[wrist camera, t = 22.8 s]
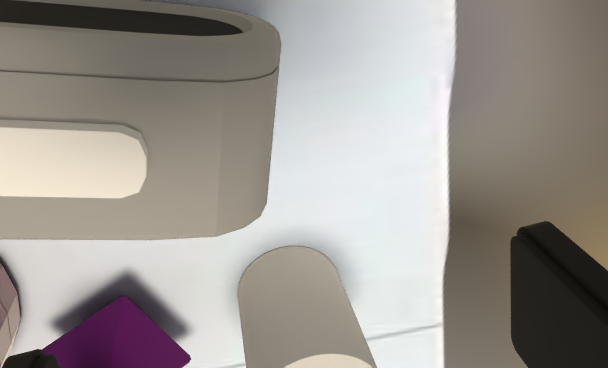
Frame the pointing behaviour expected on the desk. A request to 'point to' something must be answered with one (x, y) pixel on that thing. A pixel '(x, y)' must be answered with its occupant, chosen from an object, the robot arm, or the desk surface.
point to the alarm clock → (133, 119)
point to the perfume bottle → (118, 341)
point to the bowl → (7, 315)
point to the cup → (298, 314)
